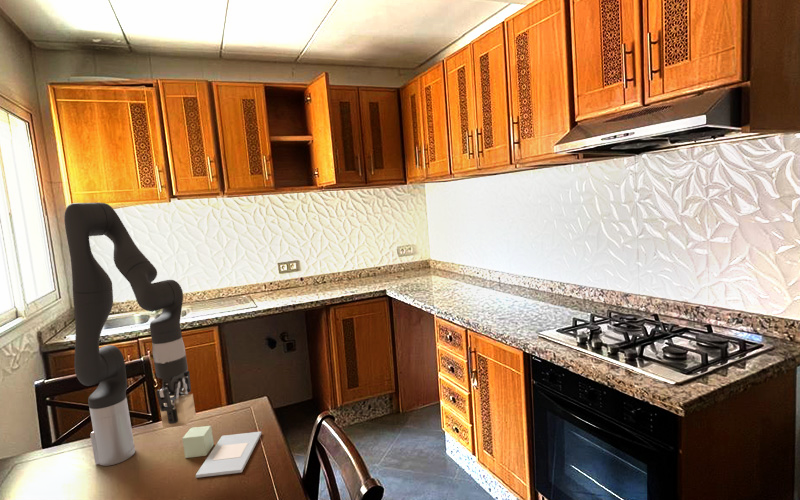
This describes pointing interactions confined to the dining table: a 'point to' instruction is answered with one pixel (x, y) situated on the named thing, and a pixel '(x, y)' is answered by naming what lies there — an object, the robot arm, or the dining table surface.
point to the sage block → (198, 441)
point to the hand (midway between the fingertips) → (179, 416)
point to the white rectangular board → (229, 454)
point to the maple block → (181, 411)
